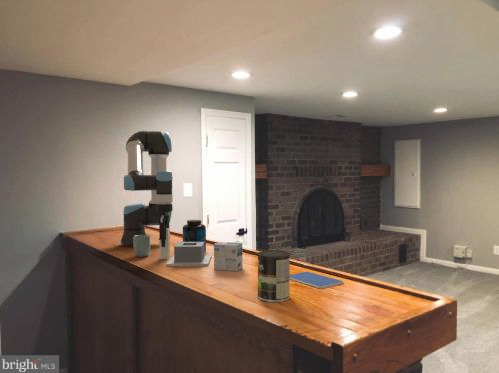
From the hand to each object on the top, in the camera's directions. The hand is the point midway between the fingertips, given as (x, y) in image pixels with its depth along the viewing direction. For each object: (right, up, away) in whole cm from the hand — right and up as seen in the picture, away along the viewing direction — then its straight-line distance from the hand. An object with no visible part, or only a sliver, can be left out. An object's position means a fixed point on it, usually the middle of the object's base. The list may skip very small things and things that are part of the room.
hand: (164, 252), depth 183 cm
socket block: (+13, -3, -8) cm, 15 cm away
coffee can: (+48, -4, -60) cm, 77 cm away
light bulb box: (+31, -3, -22) cm, 38 cm away
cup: (-12, -3, +5) cm, 13 cm away
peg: (0, -3, 0) cm, 3 cm away
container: (+12, -3, +16) cm, 20 cm away
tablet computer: (+64, -4, -40) cm, 75 cm away
